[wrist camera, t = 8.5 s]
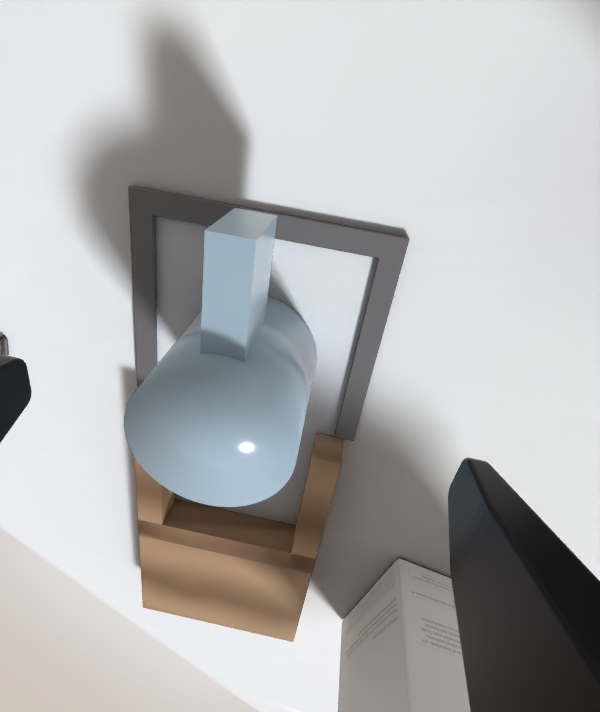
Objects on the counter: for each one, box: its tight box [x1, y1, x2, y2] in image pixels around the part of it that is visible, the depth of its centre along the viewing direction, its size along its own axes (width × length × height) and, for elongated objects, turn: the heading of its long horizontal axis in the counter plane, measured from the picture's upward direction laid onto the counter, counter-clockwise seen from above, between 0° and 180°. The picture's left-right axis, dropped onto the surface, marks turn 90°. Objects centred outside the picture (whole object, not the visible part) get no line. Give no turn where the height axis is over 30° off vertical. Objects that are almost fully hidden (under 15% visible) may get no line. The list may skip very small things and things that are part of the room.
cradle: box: [135, 433, 343, 642], centre depth 28 cm, size 17×11×2 cm, turn 171°
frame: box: [128, 186, 409, 441], centre depth 21 cm, size 11×12×1 cm
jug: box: [124, 208, 317, 507], centre depth 18 cm, size 11×6×7 cm, turn 172°
